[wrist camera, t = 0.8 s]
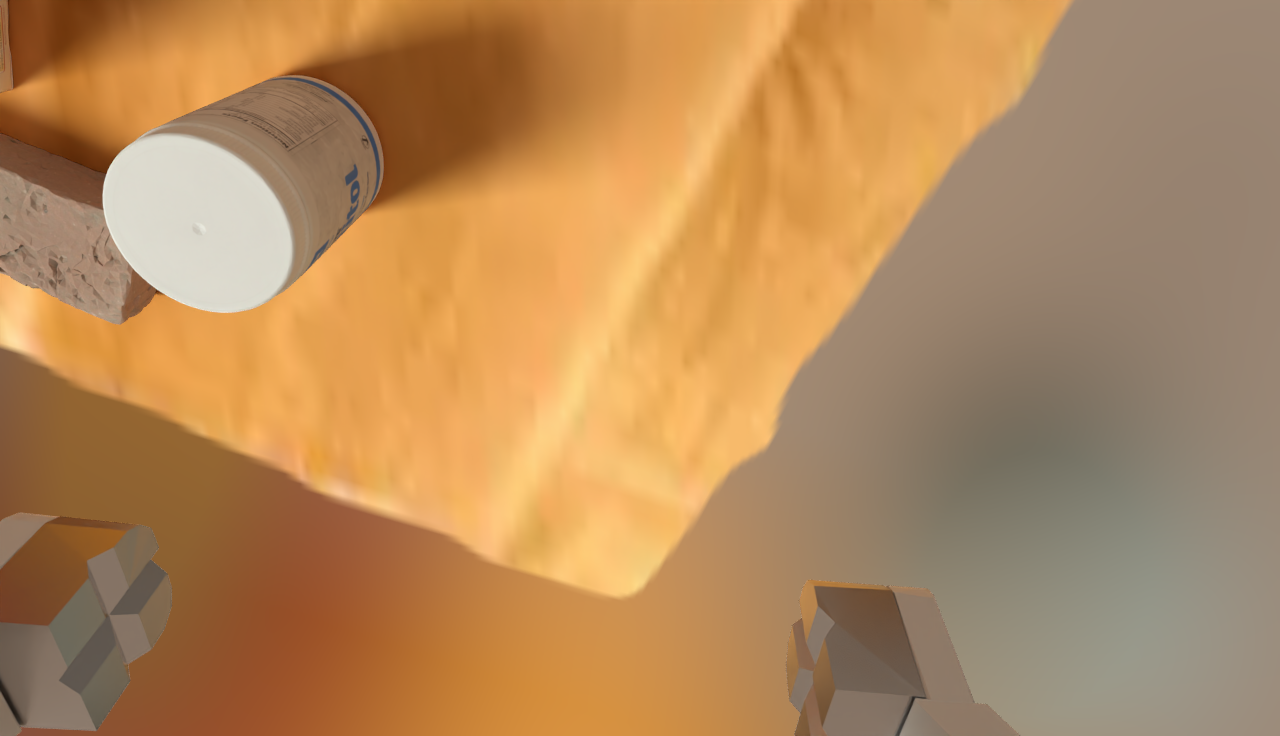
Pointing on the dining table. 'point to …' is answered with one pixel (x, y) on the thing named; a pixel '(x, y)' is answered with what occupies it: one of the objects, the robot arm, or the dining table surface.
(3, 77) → the coffeecake box
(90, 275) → the brick
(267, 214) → the supplement tub
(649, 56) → the dining table surface
